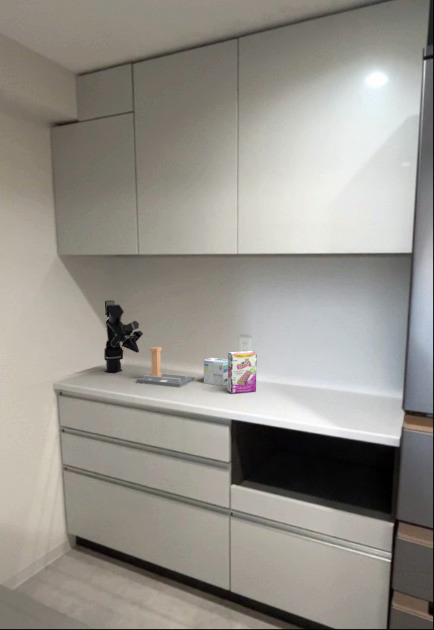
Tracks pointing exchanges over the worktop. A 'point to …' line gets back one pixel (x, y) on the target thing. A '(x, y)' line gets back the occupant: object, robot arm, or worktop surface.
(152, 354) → the orange square pillar
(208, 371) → the light bulb box
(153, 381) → the grey base plate
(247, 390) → the candy bar box
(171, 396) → the worktop surface
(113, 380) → the worktop surface
